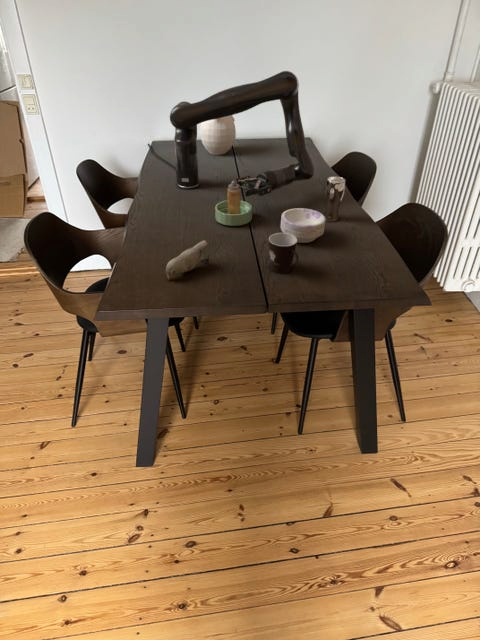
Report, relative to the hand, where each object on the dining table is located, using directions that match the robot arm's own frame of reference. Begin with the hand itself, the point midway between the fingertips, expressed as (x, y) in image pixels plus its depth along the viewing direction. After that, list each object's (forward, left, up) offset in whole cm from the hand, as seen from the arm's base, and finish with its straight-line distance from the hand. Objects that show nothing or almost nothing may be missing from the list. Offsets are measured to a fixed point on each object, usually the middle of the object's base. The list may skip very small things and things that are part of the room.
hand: (238, 190), depth 157 cm
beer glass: (+22, +28, -11) cm, 37 cm away
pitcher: (-70, +43, -11) cm, 83 cm away
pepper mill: (0, -2, -10) cm, 10 cm away
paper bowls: (+26, +8, -11) cm, 29 cm away
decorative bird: (+20, -36, -11) cm, 43 cm away
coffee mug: (+38, -13, -11) cm, 42 cm away
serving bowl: (0, -2, -11) cm, 11 cm away
